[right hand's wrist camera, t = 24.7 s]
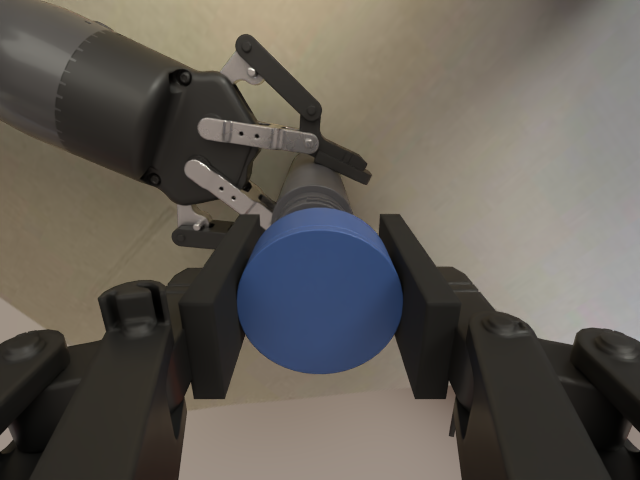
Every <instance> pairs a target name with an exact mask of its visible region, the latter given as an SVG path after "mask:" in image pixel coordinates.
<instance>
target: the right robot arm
mask: <svg viewBox="0 0 640 480" xmlns="http://www.w3.org/2000/svg"><path fill="white" fill-rule="evenodd" d="M260 237H261V228H260V214H240V215H239V217H238V218H237V219H236V221H235V222H234V224H233V225H232V227H231V228H230V229H229V231H228V232H227V234H226V235H225V237H224V238H223V239H222V241H221V242H220V244H219V245H218V247H217V248H216V249H215V251H214V252H213V254H212V255H211V257H210V258H209V259H208V261H207V262H206V264H205V265H204V267H203V268H187V269H185V270H183V271H182V272H180V273H178V274H176V275H175V276H174V277H173V278H172V280H171V281H170V282H169V283H168V286H166V287H165V286H164V285H163V284H162V283H160V282H157V281H152V280H138V281H133V282H127V283H124V284H121V285H118V286H115V287H113V288H111V289H109V290H107V291H105V292H104V293H103V294H102V295H101V296H100V297H98V301H99V305H100V309H101V313H102V317H103V321H104V325H105V328H106V333H105V335H104V337H103V339H102V340H99V341H95V342H90V343H84V344H79V345H74V346H68V347H67V344H66V341H65V338H64V335H63V334H62V333H60V332H59V331H56V330H49V329H48V330H38V331H37V330H35V331H30V332H28V333H22V334H19V335H17V336H16V337H14V338H11V339H9V340H6V341H4V342H3V343H1V344H0V435H1V434H2V433H3V432H4V431H5V430H6V428H7V427H8V428H9V430H10V433H11V435H12V437H13V440H12V442H11V443H10V444H9V445H8V446H7V447H6V448H5V449H3V450H2V451H1V452H0V480H178V478H179V470H180V462H181V454H182V447H183V439H184V431H185V423H186V415H187V409H186V403H185V397H184V396H185V394H186V391H187V389H188V387H189V385H190V383H191V384H192V390H193V396H194V399H225V397H226V393H227V390H228V387H229V384H230V381H231V378H232V375H233V371H234V368H235V365H236V362H237V359H238V356H239V353H240V349H241V346H242V343H243V340H244V337H245V333H244V331H243V329H242V326H241V324H240V321H239V317H238V310H237V290H238V285H239V282H240V279H241V276H242V274H243V272H244V269H245V267H246V265H247V263H248V260H249V258H250V256H251V254H252V251H253V249H254V247H255V245H256V243H257V241H258V240H259V238H260ZM379 237H380V239H381V240H382V242H383V244H384V246H385V247H386V250H387V252H388V254H389V256H390V259H391V261H392V263H393V265H394V268H395V270H396V272H397V274H398V277H399V280H400V282H401V286H402V291H403V308H402V316H401V320H400V323H399V326H398V328H397V330H396V332H395V338H396V341H397V344H398V347H399V350H400V353H401V356H402V360H403V363H404V366H405V369H406V372H407V375H408V378H409V382H410V385H411V388H412V391H413V394H414V397H415V399H446V394H447V389H448V383H449V381H450V384H451V386H452V388H453V390H454V392H455V394H456V397H455V403H454V409H453V414H452V420H451V426H450V432H449V436H452V437H454V433H455V430H456V438H457V446H458V453H459V461H460V469H461V477H462V480H640V450H639V449H637V448H636V447H635V446H634V445H633V444H632V443H631V442H630V441H629V440H628V439H627V437H628V434H629V432H630V430H631V427H632V425H633V426H634V427H635V428H636V429H637V430H638V431H639V432H640V342H639V341H637V340H636V339H633V338H631V337H629V336H626V335H625V334H623V333H621V332H617V331H612V330H610V329H600V328H586V329H582V330H580V331H579V332H578V333H577V334H576V337H575V340H574V343H573V345H570V344H564V343H559V342H554V341H548V340H543V339H539V338H537V336H536V334H535V332H534V331H533V330H532V328H531V327H530V326H529V325H528V324H527V323H525V322H524V321H522V320H521V319H519V318H517V317H514V316H512V315H509V314H507V313H502V312H497V311H495V309H494V308H493V307H492V306H491V305H490V303H489V302H488V301H487V300H486V299H485V297H484V296H483V295H482V294H481V293H480V292H478V289H477V288H476V287H475V285H472V282H471V281H470V279H469V278H468V277H467V276H466V275H465V274H464V273H462V272H460V271H459V270H457V269H455V268H454V267H436V265H435V264H434V263H433V261H432V260H431V258H430V257H429V255H428V254H427V253H426V251H425V250H424V248H423V247H422V245H421V244H420V243H419V241H418V240H417V238H416V237H415V235H414V234H413V233H412V231H411V230H410V228H409V227H408V225H407V224H406V223H405V221H404V220H403V218H402V217H401V215H400V214H380V224H379Z"/></svg>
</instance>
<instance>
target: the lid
mask: <svg viewBox="0 0 640 480" xmlns="http://www.w3.org/2000/svg"><path fill="white" fill-rule="evenodd" d="M402 308H403V291H402V286H401V282H400V280H399V277H398V274H397V272H396V270H395V268H394V265H393V263H392V261H391V259H390V256H389V254H388V252H387V250H386V247H385V246H384V244H383V242H382V240H381V239H380V237H379V236H378V235H377V233H376V232H375V231H374V230H373V229H372V228H371V227H370V226H369V225H368V224H366V223H365V222H364V221H363V220H361V219H359V218H358V217H356V216H354V215H352V214H349V213H347V212H344V211H341V210H337V209H331V208H309V209H303V210H299V211H295V212H293V213H290V214H288V215H286V216H284V217H282V218H280V219H279V220H277V221H276V222H275V223H273V224H272V225H271V226H270V227H269V228H268V229H267V230H266V231H265V232H264V233H263V234H262V236H261V237H260V238H259V240H258V241H257V243H256V245H255V247H254V249H253V251H252V254H251V256H250V258H249V260H248V263H247V265H246V267H245V269H244V272H243V274H242V276H241V279H240V282H239V285H238V290H237V310H238V317H239V321H240V324H241V326H242V329H243V331H244V333H245V334H246V336H247V338H248V339H249V340H250V342H251V343H252V344H253V346H254V347H255V348H256V349H257V350H258V351H259V352H260V353H262V354H263V355H264V356H265V357H267V358H268V359H270V360H271V361H273V362H275V363H276V364H278V365H281V366H283V367H285V368H288V369H291V370H294V371H298V372H302V373H309V374H330V373H337V372H342V371H346V370H349V369H352V368H355V367H357V366H359V365H361V364H363V363H365V362H367V361H368V360H370V359H372V358H373V357H374V356H376V355H377V354H378V353H379V352H380V351H381V350H382V349H383V348H384V347H385V346H386V345H387V344H388V343H389V341H390V340H391V339H392V337H393V336H394V334H395V332H396V330H397V328H398V326H399V323H400V320H401V316H402Z"/></svg>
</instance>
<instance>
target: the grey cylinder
mask: <svg viewBox="0 0 640 480" xmlns="http://www.w3.org/2000/svg"><path fill="white" fill-rule="evenodd" d="M309 208H331V209H337V210H341V211H344V212H347V213H349V214H352V215H353V212H352V209H351V206H350V203H349V200H348V197H347V194H346V191H345V188H344V185H343V183H342V180H341V177H340V174H339V173H338V172H336V171H333V170H331V169H329V168H327V167H325V166H323V165H320V164H318V163H316V162H314V157H312V156H310V155H308V154H304V153H300V154H298V155H297V156H296V157H295V159H294V160H293V162H292V164H291V167H290V169H289V172H288V174H287V177H286V179H285V182H284V185H283V187H282V190H281V192H280V195H279V197H278V200H277V203H276V205H275V208H274V210H273V213H272V218H271V225H272V224H273V223H275V222H276V221H277V220H279V219H280V218H282V217H284V216H286V215H288V214H290V213H293V212H295V211H299V210H303V209H309Z"/></svg>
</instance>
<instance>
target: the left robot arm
mask: <svg viewBox="0 0 640 480" xmlns="http://www.w3.org/2000/svg"><path fill="white" fill-rule="evenodd" d="M235 47H236V51H235V52H234V54H233V55H232V56H231V58H230V59H229V60H228V62H227V63H226V64H225V66H224V67H223V68H222V70H221V71H220V72H217V71H205V72H202V71H197V70H195V69H192V68H190V67H188V66H186V65H184V64H182V63H180V62H178V61H175V60H173V59H171V58H169V57H167V56H165V55H163V54H161V53H159V52H156V51H154V50H152V49H150V48H148V47H146V46H144V45H142V44H140V43H137V42H135V41H133V40H131V39H129V38H127V37H125V36H123V35H121V34H119V33H116V32H114V31H113V30H112V29H111V28H109V27H108V26H106V25H104V24H102V23H100V22H97V21H91V20H89V19H87V18H85V17H83V16H81V15H79V14H77V13H74V12H72V11H70V10H68V9H65V8H62V7H59V6H56V5H53V4H50V3H47V2H44V1H41V0H0V120H1V121H3V122H5V123H7V124H8V125H10V126H12V127H13V128H15V129H17V130H19V131H21V132H23V133H25V134H27V135H29V136H31V137H34V138H36V139H38V140H41V141H43V142H45V143H48V144H50V145H53V146H55V147H57V148H60V149H62V150H65V151H67V152H69V153H72V154H74V155H77V156H79V157H82V158H84V159H86V160H89V161H91V162H94V163H96V164H98V165H101V166H103V167H106V168H108V169H110V170H113V171H115V172H118V173H120V174H123V175H125V176H127V177H130V178H132V179H135V180H137V181H139V182H142V183H145V184H148V185H151V186H154V187H156V188H158V189H160V190H161V191H162V192H164V193H165V194H166V195H167V196H168V198H169V199H170V200H171V201H173V202H174V203H176V204H177V216H178V228H177V229H176V230H175V231H174V232H173V233H172V240H173V242H174V243H175V244H176V245H178V246H184V247H195V248H205V249H216V248H217V247H218V245H219V244H220V242H221V241H222V239H223V238H224V237H225V235H226V234H227V232H228V231H229V229H230V228H231V227H232V225H233V224H234V222H229V221H219V220H213V219H212V217H211V215H210V214H209V213H207V212H204V211H201V210H200V209H198V207H197V206H196V204H199V203H204V202H209V201H214V200H219V199H220V200H222V201H223V202H224V203H226V204H227V205H228V206H230V207H231V208H232V209H234V210H235V211H236V212H238V213H239V214H260V228H261V236H262V234H263V233H264V232H265V231H266V230H267V229H268V228H269V227H270V226H271V218H272V213H273V210H274V208H275V205H276V202H274V201H273V200H272V199H270V198H269V197H268V196H267V195H265V194H264V193H263V191H262V190H261V189H260V188H259V187H258V186H257V185H256V184H254V183H253V182H252V181H251V180H249V179H250V176H251V174H252V165H253V160H254V159H255V158H256V156H257V155H258V154H259V152H260V151H261V148H266V149H273V150H286V151H292V152H298V153H304V154H308V155H310V156H312V157H314V162H316V163H318V164H320V165H323V166H325V167H327V168H329V169H331V170H333V171H336V172H338V173H340V174H342V175H344V176H347V177H349V178H351V179H353V180H355V181H357V182H360V183H362V184H364V185H367V184H368V182H369V180H370V178H371V176H372V174H371V173H370V172H369V171H368V170H366V169H365V168H366V166H367V163H366V162H365V161H364V159H363V158H362V157H361V156H360V155H359V154H357V153H355V152H353V151H351V150H348V149H346V148H344V147H342V146H340V145H338V144H336V143H334V142H332V141H329V140H327V139H325V138H324V137H323V136H322V134H321V132H320V119H321V113H322V108H321V105H320V103H319V102H318V101H317V100H316V99H315V98H314V97H313V96H312V95H311V94H310V93H309V92H308V91H307V90H306V89H305V88H304V87H303V86H302V85H301V84H300V83H299V82H298V81H297V80H296V79H295V78H294V77H293V76H292V75H291V74H290V73H289V72H288V71H287V70H286V69H285V68H284V67H283V66H282V65H281V64H280V63H279V62H278V61H277V60H276V59H275V58H274V57H273V56H272V55H271V54H270V53H269V52H268V51H267V50H266V49H265V48H264V47H263V46H262V45H261V44H260V43H259V42H257V41H256V40H255V39H254V38H253V37H252V36H251V35H248V34H244V35H241V36H240V37H238V39H237V41H236V46H235ZM241 80H245V81H247V82H248V83H250V84H253V85H260V84H262V83H263V82H264V81H266V82H267V83H268V84H269V85H270V86H271V87H272V88H273V89H275V90H276V91H277V92H278V93H279V94H280V95H281V96H282V97H283V98H284V99H285V100H286V101H287V102H288V103H289V104H290V105H291V106H292V107H293V108H294V109H295V110H296V111H297V112H298V113H299V114H300V129H299V128H293V127H287V126H283V125H278V124H272V123H266V122H260V121H257V119H256V117H255V116H254V114H253V112H252V111H251V109H250V107H249V106H248V104H247V102H246V101H245V99H244V97H243V96H242V94H241V92H240V91H239V89H238V87H237V86H236V83H237V82H239V81H241ZM233 196H235V197H236V198H234V197H233Z"/></svg>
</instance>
